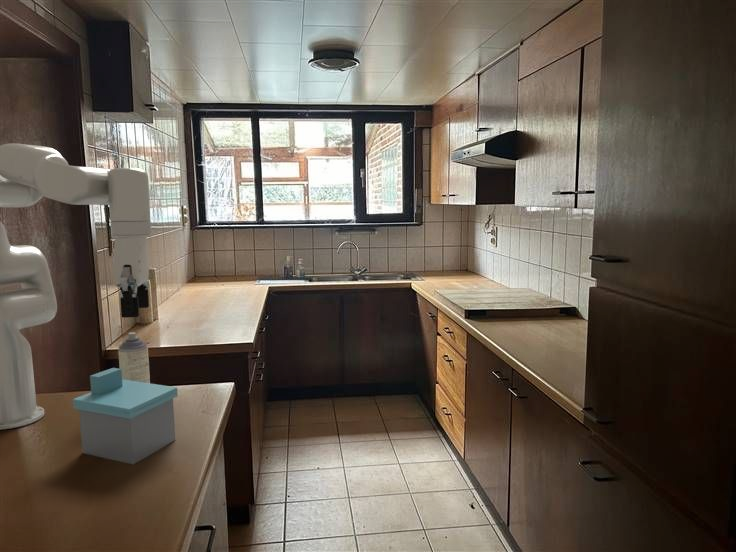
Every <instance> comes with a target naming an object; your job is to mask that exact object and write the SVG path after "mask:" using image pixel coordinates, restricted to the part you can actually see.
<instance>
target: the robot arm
mask: <svg viewBox="0 0 736 552" xmlns="http://www.w3.org/2000/svg"><path fill="white" fill-rule="evenodd" d="M42 198H47V199H50V200H53V201H56V202H60V203H63V204H68V205H77V206H79V205H80V206H81V205H83V206H85V205H87V206H89V205H92V206H93V205H99V206H109V221H110V222H109V224H110V236H111V238H113V239H114V244H113V281H114V286H116V287H117V288H119V290H120V291H119V297H120V298H119V299H120V301H119V302H120V314H121V315H120V316H121V318H138V317H139V316H140V311H139V309H147V308H149V307H150V299H149V289H148V287H149V285H148V280H149V277H150V276H149V275H150V272H149V271H150V270H149V269H150V267H149V264H150V263H149V251H148V241H147V238H151V237H152V222H151V203H150V201H151V200H150V184H149V175H148V173H147V172H146V171H145V169H142V168H133V167H115V168H102V167H92V166H79V165H78V166H77V165H69V162H68V161H67V160H66V159H65V157H63V156H62V154H61V153H60V152H59V151H57V150H56V149H54V148H52V147H49V146H42V145H36V144H35V145H34V144H24V143H18V142H17V143H15V142H14V143H10V142H9V143H5V144H1V145H0V208H27V207H31V206H33V205H36V204H37V203H38V202H39V201H40V200H42ZM13 285H20V286H21V289H12V290H5V291H0V430H8V429H17V428H19V427H23V426H27V425H30V424H32V423H35V422H37V421H39V420H41V418H43V417H44V416H45V408H43V407H42V406H39V405H37V398H36V397H37V395H36V388H35V387H36V386H35V375H34V365H33V354H32V347H31V344H30V342H29V341H28V339H27V338H26V337H25V336H24V335H23V334H22V332H21V331H20V330H23V329H26V328H30V327H35V326H39V325H44V324H47V323H49V322H51V321H52V320H53V319H54V318H55V317H56V315H57V312H58V303H57V297H56V293H55V288H54V285H53V281H52V276H51V273H50V268H49V264H48V261H47V258H46V257H45V255H44V253H43V252H42V251H41V250H40V249H39V248H37V247H36V246H33V245H28V244H27V245H26V244H25V245H24V244H20V245H11V244H10V241H9V238H8V234H7V229H6V227H5V226H4V224H3V223H2V221H0V287H7V286H13Z"/></svg>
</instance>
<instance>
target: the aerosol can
mask: <svg viewBox="0 0 736 552" xmlns="http://www.w3.org/2000/svg"><path fill="white" fill-rule="evenodd" d="M118 364H119V369H121V371H122V380H130V381H137V382H144V383H150V384H151V381H150V380H151V379H150V378H151V377H150V376H151V375H150V361H149V346H148V344H147V342H145V341H143V339H141V338H139V337H138V336H137V333H136V332H133V331H132V332H128V337H127V338H126V339H125V340H124V341H122V344H120V345H119V346H118Z"/></svg>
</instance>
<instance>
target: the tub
mask: <svg viewBox="0 0 736 552" xmlns="http://www.w3.org/2000/svg"><path fill="white" fill-rule="evenodd" d="M174 409H175V408H174V398H173V399H171V400H169V401H167V402H164V403H162V404H160V405H158V406H156V407H154V408H152V409H150V410H148V411H146V412H144V413H141V414H139V415H137V416H135V417H133V418H131V419H128V418H123V417H117V416H112V415H107V414H101V413H96V412H90V411H85V410H79V409H78V413H79V425H80V435H81V436H80V438H81V449H82V454H85V455H90V456H94V457H99V458H103V459H108V460H112V461H115V462H116V461H117V462H121V463H124V464H130V465H135V464H136V463H139V462H140V461H141V460H144V459H145V458H147V457H149V456H150V455H152V454H154V453H156V452H157V451H159V450H160V449H163V448H164V447H166V446H168V445H169V444H171V443H172V442H174V441H176V427H175V426H176V425H175V412H174V411H175V410H174Z"/></svg>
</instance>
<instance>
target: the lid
mask: <svg viewBox="0 0 736 552" xmlns="http://www.w3.org/2000/svg"><path fill="white" fill-rule="evenodd" d="M89 381H90V383H89V384H90V392H88V393H86V394H82V395H80V396H78V397H75V398H73V399H72V405H73V406H72V407H73V409H74V410H78V411H79V410H85V411H90V412H96V413H101V414H107V415H112V416H117V417H123V418H128V419H131V418H133V417H135V416H137V415H139V414H141V413H144V412H146V411H148V410H150V409H152V408H154V407H156V406H158V405H160V404H162V403H164V402H167V401H169V400H171V399H173V400H174V398H177V397H179V396H178V395H179V394H178V387H176V386H171V385H170V386H169V385H163V384H156V383H151V382H150V383H144V382H137V381H130V380H122V371H121V369H120V368H116V367H112V368H109V369H106V370H103V371H99V372H97V373H94V374H92V375H89Z"/></svg>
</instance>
